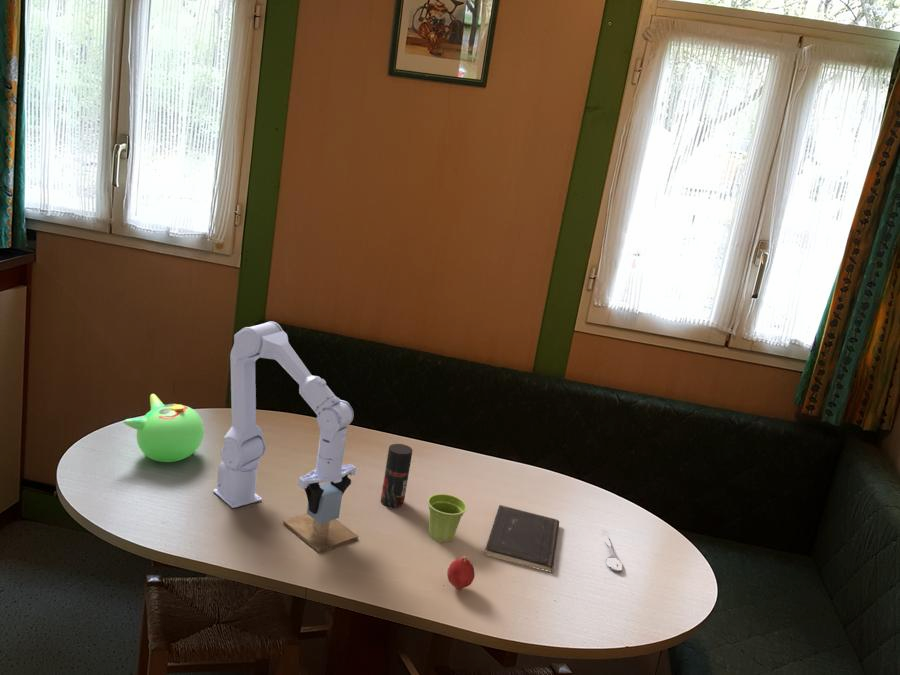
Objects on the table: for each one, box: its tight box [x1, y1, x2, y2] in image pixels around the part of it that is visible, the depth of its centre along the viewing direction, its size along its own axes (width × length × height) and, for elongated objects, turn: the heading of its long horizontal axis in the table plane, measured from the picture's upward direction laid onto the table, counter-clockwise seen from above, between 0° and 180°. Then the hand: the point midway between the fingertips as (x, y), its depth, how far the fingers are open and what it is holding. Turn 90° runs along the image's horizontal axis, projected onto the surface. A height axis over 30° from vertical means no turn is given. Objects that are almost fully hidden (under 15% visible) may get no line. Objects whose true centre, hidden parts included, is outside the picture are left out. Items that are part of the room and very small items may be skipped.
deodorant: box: [380, 443, 413, 509], centre depth 189 cm, size 6×6×15 cm
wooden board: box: [282, 512, 359, 554], centre depth 171 cm, size 14×11×6 cm
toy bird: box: [123, 393, 205, 463], centre depth 192 cm, size 18×17×15 cm
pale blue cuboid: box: [306, 482, 343, 524], centre depth 170 cm, size 5×5×7 cm
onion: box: [446, 555, 476, 591], centre depth 159 cm, size 6×6×8 cm
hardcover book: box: [485, 504, 560, 573], centre depth 184 cm, size 16×23×2 cm
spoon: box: [607, 546, 622, 572], centre depth 186 cm, size 4×21×2 cm, turn 177°
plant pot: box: [427, 493, 468, 543], centre depth 178 cm, size 9×9×9 cm
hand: (323, 508), depth 171 cm, fingers closed on pale blue cuboid, 5 cm apart
